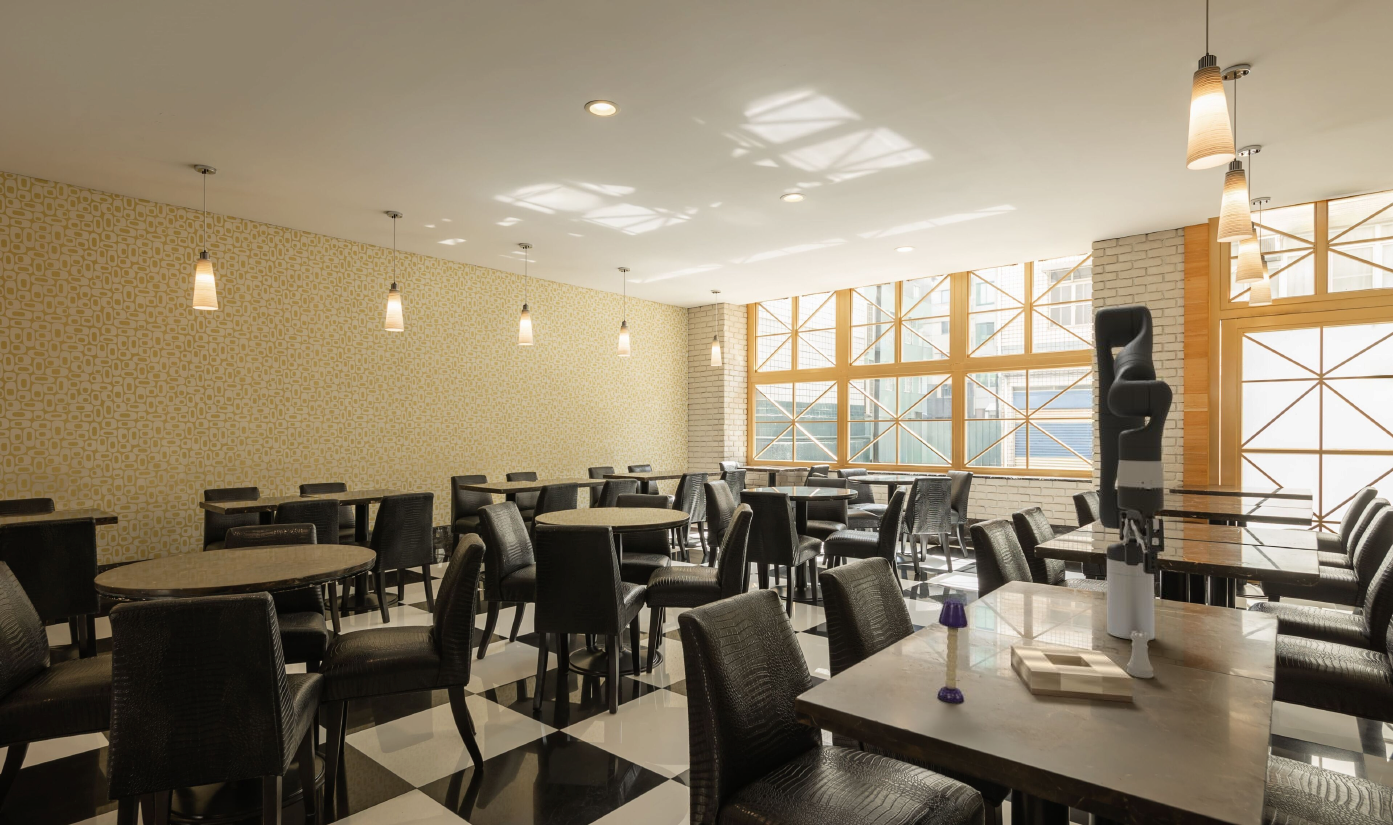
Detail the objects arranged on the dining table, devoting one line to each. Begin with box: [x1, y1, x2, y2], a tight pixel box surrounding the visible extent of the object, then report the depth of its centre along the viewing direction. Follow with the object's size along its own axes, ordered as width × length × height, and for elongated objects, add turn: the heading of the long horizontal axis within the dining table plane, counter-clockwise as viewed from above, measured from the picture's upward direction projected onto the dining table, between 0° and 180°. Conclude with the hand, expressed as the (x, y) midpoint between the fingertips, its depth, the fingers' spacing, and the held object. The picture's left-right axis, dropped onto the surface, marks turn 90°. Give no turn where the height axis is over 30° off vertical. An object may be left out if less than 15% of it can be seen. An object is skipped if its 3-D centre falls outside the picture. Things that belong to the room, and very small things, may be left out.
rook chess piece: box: [1126, 631, 1155, 679], centre depth 135 cm, size 4×4×8 cm
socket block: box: [1010, 644, 1134, 703], centre depth 130 cm, size 16×16×4 cm
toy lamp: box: [937, 598, 968, 704], centre depth 121 cm, size 5×5×17 cm
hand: (1140, 569), depth 136 cm, fingers open, 8 cm apart
